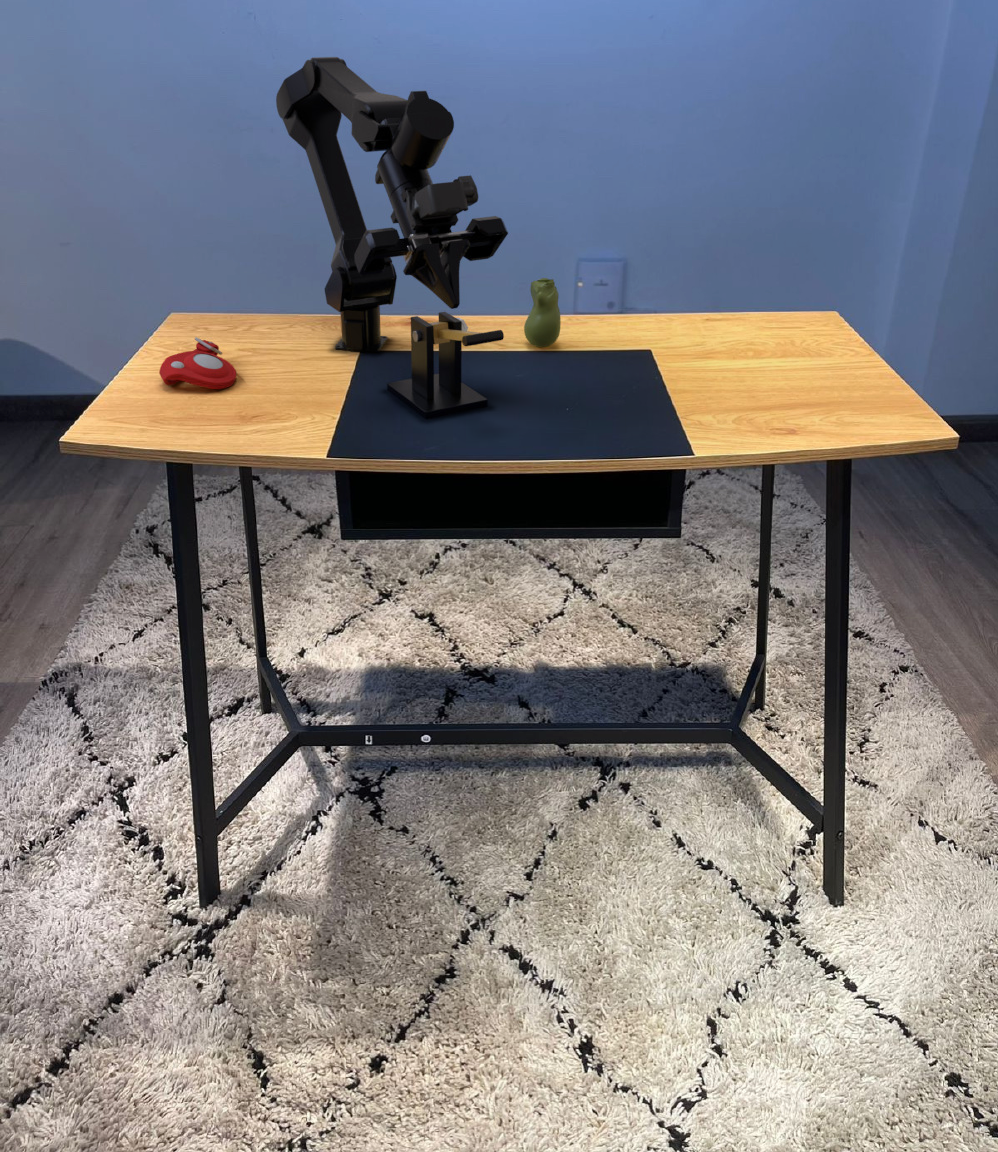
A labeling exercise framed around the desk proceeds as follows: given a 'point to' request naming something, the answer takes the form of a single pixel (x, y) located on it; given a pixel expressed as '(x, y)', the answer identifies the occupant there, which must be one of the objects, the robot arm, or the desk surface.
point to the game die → (463, 325)
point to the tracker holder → (199, 367)
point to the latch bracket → (435, 390)
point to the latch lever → (463, 335)
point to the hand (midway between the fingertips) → (455, 306)
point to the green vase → (543, 314)
